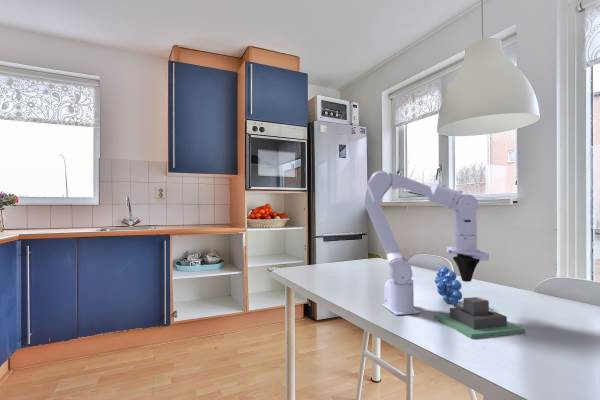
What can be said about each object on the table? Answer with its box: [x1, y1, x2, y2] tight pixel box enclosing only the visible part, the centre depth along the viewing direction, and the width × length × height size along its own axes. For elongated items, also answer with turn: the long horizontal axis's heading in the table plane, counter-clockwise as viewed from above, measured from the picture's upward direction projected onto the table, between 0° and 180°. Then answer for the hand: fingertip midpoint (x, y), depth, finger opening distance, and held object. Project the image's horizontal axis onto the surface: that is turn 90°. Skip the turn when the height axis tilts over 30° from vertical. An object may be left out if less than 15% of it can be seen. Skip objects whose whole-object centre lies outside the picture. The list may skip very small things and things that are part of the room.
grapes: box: [434, 265, 463, 306], centre depth 101 cm, size 12×7×12 cm, turn 14°
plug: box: [462, 296, 490, 316], centre depth 82 cm, size 4×5×7 cm
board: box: [434, 306, 526, 339], centre depth 82 cm, size 14×16×4 cm
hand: (466, 281), depth 89 cm, fingers closed
